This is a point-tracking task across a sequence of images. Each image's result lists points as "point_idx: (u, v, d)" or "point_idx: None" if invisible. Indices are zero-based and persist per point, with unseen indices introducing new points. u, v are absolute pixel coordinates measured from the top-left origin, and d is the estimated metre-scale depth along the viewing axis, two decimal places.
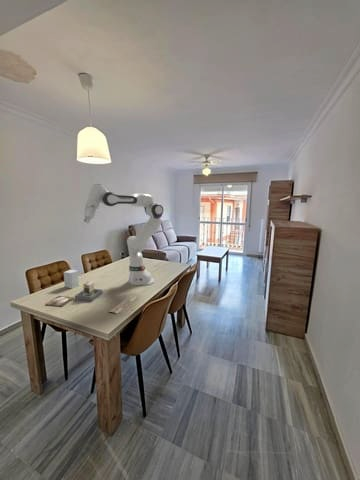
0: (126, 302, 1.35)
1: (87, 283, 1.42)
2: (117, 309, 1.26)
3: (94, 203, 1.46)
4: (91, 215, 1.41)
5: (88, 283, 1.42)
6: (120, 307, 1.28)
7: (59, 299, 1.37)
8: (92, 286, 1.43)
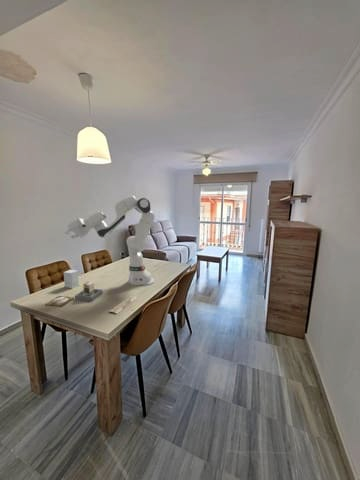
0: (126, 302, 1.35)
1: (87, 283, 1.42)
2: (117, 309, 1.26)
3: None
4: None
5: (88, 283, 1.42)
6: (120, 307, 1.28)
7: (59, 299, 1.37)
8: (92, 286, 1.43)
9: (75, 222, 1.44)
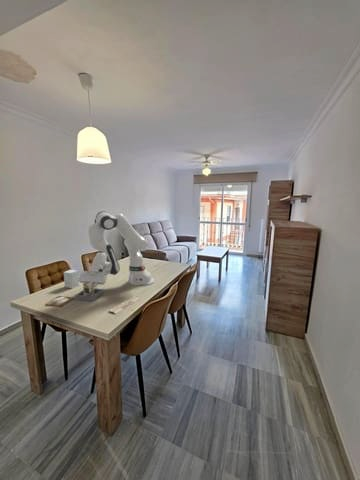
0: (128, 302, 1.34)
1: (87, 283, 1.42)
2: (117, 309, 1.26)
3: None
4: None
5: (88, 283, 1.42)
6: (120, 307, 1.28)
7: (59, 299, 1.37)
8: None
9: (105, 276, 1.47)
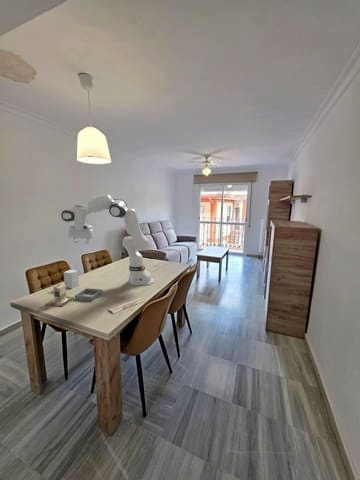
0: (130, 303, 1.33)
1: (58, 286, 1.33)
2: (116, 309, 1.26)
3: None
4: None
5: (59, 286, 1.33)
6: (120, 307, 1.28)
7: None
8: (63, 289, 1.34)
9: (91, 231, 1.58)
